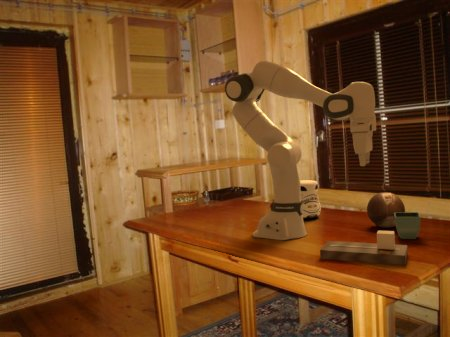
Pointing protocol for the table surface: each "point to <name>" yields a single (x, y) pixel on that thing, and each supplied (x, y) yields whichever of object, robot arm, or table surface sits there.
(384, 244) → the fader
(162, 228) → the table surface
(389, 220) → the brown leather ball
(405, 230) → the flower pot
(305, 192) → the milk container
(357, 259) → the track board
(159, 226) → the table surface
